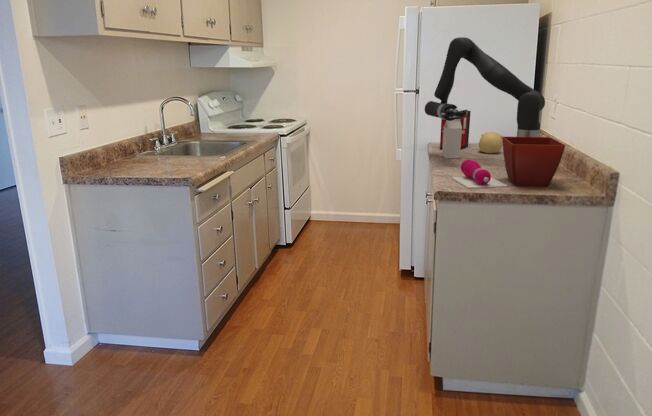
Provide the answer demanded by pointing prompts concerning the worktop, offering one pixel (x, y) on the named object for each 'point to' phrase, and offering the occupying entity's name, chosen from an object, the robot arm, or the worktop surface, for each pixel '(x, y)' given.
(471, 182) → the mat
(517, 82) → the robot arm
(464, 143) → the cleaning product box
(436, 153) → the worktop surface
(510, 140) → the plant pot
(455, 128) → the milk carton
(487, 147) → the tan ball
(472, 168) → the pepper mill
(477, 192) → the worktop surface
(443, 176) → the worktop surface
